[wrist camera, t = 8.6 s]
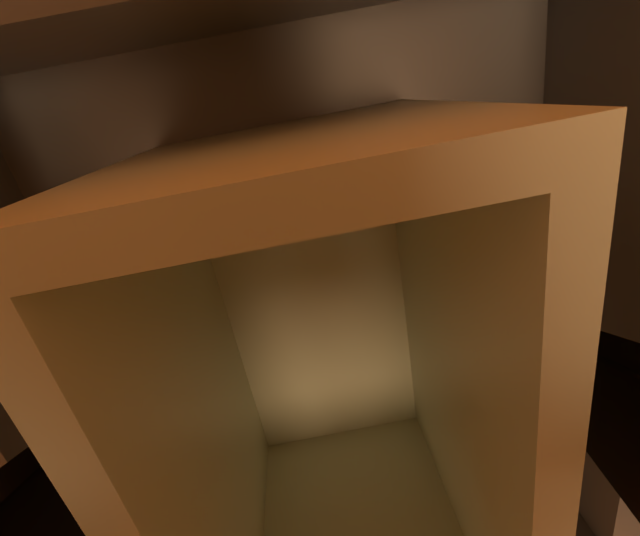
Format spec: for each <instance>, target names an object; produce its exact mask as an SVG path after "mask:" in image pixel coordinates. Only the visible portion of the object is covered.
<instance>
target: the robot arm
mask: <svg viewBox="0 0 640 536" xmlns="http://www.w3.org/2000/svg"><path fill="white" fill-rule="evenodd" d="M586 452H587V453H588V455H589V456H590V457H591V459H592V460H593V461H594V463H595V464H596V465H597V467H598V468H599V470H600V471H601V472H602V474H603V475H604V476H605V478H606V479H607V480H608V482H609V483H610V484H611V486H612V487H613V488H614V490H615V491H616V492H617V494H618V495H619V496H620V498H621V499H622V500H623V502H624V503H625V504H626V506H627V507H628V508H629V510H630V511H631V512H632V514H633V515H634V516H635V518H636V519H637V520H638V522H639V523H640V343H638V342H635V341H632V340H629V339H626V338H623V337H619V336H616V335H613V334H610V333H607V332H604V331H600V337H599V345H598V354H597V362H596V370H595V379H594V387H593V395H592V403H591V412H590V420H589V428H588V437H587V445H586ZM0 536H85V534H84V533H83V531H82V529H81V528H80V526H79V525H78V523H77V522H76V520H75V518H74V517H73V515H72V514H71V512H70V511H69V509H68V507H67V506H66V504H65V503H64V501H63V500H62V498H61V497H60V495H59V493H58V492H57V490H56V489H55V487H54V486H53V484H52V482H51V481H50V479H49V478H48V476H47V475H46V473H45V471H44V470H43V468H42V467H41V465H40V464H39V462H38V460H37V459H36V457H35V456H34V454H33V453H32V451H31V449H30V448H29V447H27V448H26V449H25V450H23V451H22V452H20V453H19V454H18V455H16V456H15V457H14V458H12V459H11V460H10V461H8V462H7V463H6V464H4V465H3V466H2V467H0Z"/></svg>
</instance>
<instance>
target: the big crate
mask: <svg viewBox="0 0 640 536" xmlns="http://www.w3.org/2000/svg"><path fill="white" fill-rule="evenodd" d="M401 99H410V100H440V101H469V102H499V103H529V104H558V105H588V106H618V107H627V113H626V121H625V130H624V138H623V146H622V155H621V163H620V171H619V179H618V188H617V196H616V204H615V213H614V221H613V229H612V238H611V246H610V254H609V262H608V271H607V279H606V287H605V296H604V304H603V312H602V320H601V329H600V331H604V332H607V333H610V334H613V335H616V336H619V337H623V338H626V339H629V340H632V341H635V342H638V343H640V0H0V208H3V207H5V206H8V205H11V204H13V203H16V202H18V201H21V200H23V199H26V198H28V197H31V196H33V195H36V194H38V193H41V192H44V191H46V190H49V189H51V188H54V187H56V186H59V185H61V184H64V183H66V182H69V181H71V180H74V179H77V178H79V177H82V176H84V175H87V174H89V173H92V172H94V171H97V170H99V169H102V168H104V167H107V166H109V165H112V164H115V163H117V162H120V161H122V160H125V159H127V158H130V157H132V156H135V155H137V154H140V153H142V152H145V151H148V150H150V149H153V148H155V147H159V146H164V145H169V144H174V143H179V142H184V141H190V140H195V139H200V138H205V137H210V136H215V135H220V134H226V133H231V132H236V131H241V130H246V129H251V128H257V127H262V126H267V125H272V124H277V123H282V122H288V121H293V120H298V119H303V118H308V117H313V116H318V115H324V114H329V113H334V112H339V111H344V110H349V109H355V108H360V107H365V106H370V105H375V104H380V103H385V102H391V101H396V100H401ZM27 447H29V446H28V445H27V443H26V442H25V440H24V438H23V437H22V435H21V434H20V432H19V431H18V429H17V427H16V426H15V424H14V423H13V421H12V420H11V418H10V416H9V415H8V413H7V412H6V410H5V409H4V407H3V405H2V404H1V402H0V467H2V466H3V465H4V464H6V463H7V462H8V461H10V460H11V459H12V458H14V457H15V456H16V455H18V454H19V453H20V452H22V451H23V450H25V449H26V448H27ZM576 536H640V523H639V522H638V520H637V519H636V518H635V516H634V515H633V514H632V512H631V511H630V510H629V508H628V507H627V506H626V504H625V503H624V502H623V500H622V499H621V498H620V496H619V495H618V494H617V492H616V491H615V490H614V488H613V487H612V486H611V484H610V483H609V482H608V480H607V479H606V478H605V476H604V475H603V474H602V472H601V471H600V470H599V468H598V467H597V465H596V464H595V463H594V461H593V460H592V459H591V457H590V456H589V455H588V453H587V452H586V453H585V461H584V470H583V478H582V486H581V495H580V503H579V511H578V520H577V528H576Z"/></svg>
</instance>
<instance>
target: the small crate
mask: <svg viewBox="0 0 640 536" xmlns="http://www.w3.org/2000/svg"><path fill="white" fill-rule="evenodd" d="M626 113H627V107H618V106H588V105H558V104H529V103H499V102H469V101H440V100H410V99H401V100H396V101H391V102H385V103H380V104H375V105H370V106H365V107H360V108H355V109H349V110H344V111H339V112H334V113H329V114H324V115H318V116H313V117H308V118H303V119H298V120H293V121H288V122H282V123H277V124H272V125H267V126H262V127H257V128H251V129H246V130H241V131H236V132H231V133H226V134H220V135H215V136H210V137H205V138H200V139H195V140H190V141H184V142H179V143H174V144H169V145H164V146H159V147H155V148H153V149H150V150H148V151H145V152H142V153H140V154H137V155H135V156H132V157H130V158H127V159H125V160H122V161H120V162H117V163H115V164H112V165H109V166H107V167H104V168H102V169H99V170H97V171H94V172H92V173H89V174H87V175H84V176H82V177H79V178H77V179H74V180H71V181H69V182H66V183H64V184H61V185H59V186H56V187H54V188H51V189H49V190H46V191H44V192H41V193H38V194H36V195H33V196H31V197H28V198H26V199H23V200H21V201H18V202H16V203H13V204H11V205H8V206H5V207H3V208H0V402H1V404H2V405H3V407H4V409H5V410H6V412H7V413H8V415H9V416H10V418H11V420H12V421H13V423H14V424H15V426H16V427H17V429H18V431H19V432H20V434H21V435H22V437H23V438H24V440H25V442H26V443H27V445H28V446H29V448H30V449H31V451H32V453H33V454H34V456H35V457H36V459H37V460H38V462H39V464H40V465H41V467H42V468H43V470H44V471H45V473H46V475H47V476H48V478H49V479H50V481H51V482H52V484H53V486H54V487H55V489H56V490H57V492H58V493H59V495H60V497H61V498H62V500H63V501H64V503H65V504H66V506H67V507H68V509H69V511H70V512H71V514H72V515H73V517H74V518H75V520H76V522H77V523H78V525H79V526H80V528H81V529H82V531H83V533H84V534H85V536H576V528H577V520H578V511H579V503H580V495H581V486H582V478H583V470H584V461H585V453H586V445H587V437H588V428H589V420H590V412H591V403H592V395H593V387H594V379H595V370H596V362H597V354H598V345H599V337H600V329H601V320H602V312H603V304H604V296H605V287H606V279H607V271H608V262H609V254H610V246H611V238H612V229H613V221H614V213H615V204H616V196H617V188H618V179H619V171H620V163H621V155H622V146H623V138H624V130H625V121H626Z"/></svg>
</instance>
